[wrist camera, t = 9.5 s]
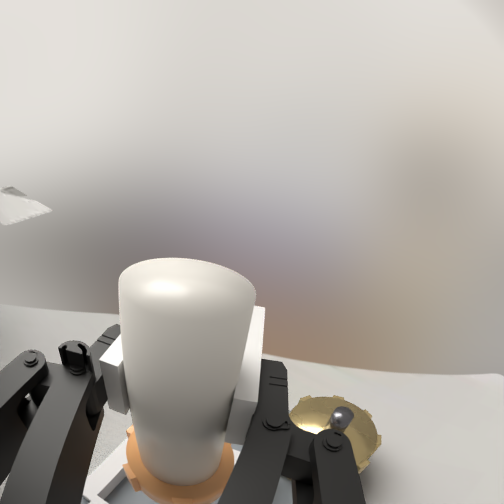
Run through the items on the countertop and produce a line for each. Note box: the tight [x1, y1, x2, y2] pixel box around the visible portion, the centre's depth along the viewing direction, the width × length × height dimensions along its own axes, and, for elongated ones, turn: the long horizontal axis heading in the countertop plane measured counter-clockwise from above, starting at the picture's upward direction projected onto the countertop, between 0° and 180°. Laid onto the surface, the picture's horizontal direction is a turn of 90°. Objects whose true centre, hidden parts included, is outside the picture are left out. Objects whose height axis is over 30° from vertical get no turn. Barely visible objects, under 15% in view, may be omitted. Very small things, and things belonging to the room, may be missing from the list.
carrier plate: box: [81, 411, 293, 504], centre depth 15 cm, size 18×19×2 cm
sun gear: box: [286, 395, 381, 481], centre depth 18 cm, size 8×8×6 cm
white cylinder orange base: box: [119, 258, 256, 504], centre depth 10 cm, size 6×6×12 cm
